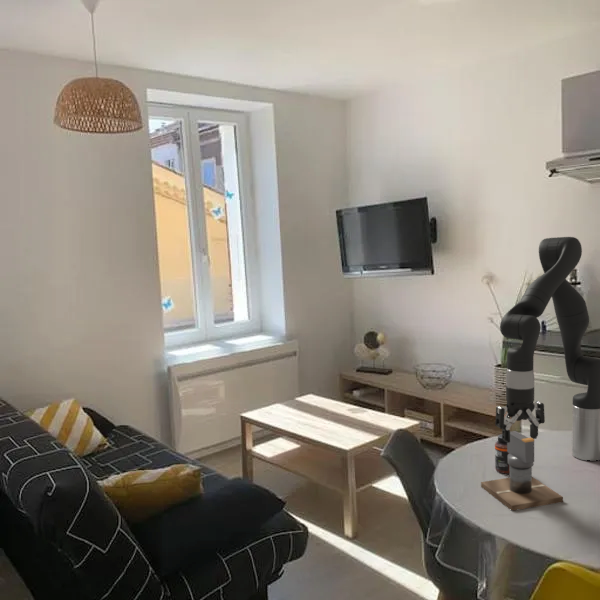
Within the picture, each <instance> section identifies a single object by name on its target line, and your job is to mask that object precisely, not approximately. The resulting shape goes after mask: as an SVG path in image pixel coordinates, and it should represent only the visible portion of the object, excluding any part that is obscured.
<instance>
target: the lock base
mask: <svg viewBox="0 0 600 600" xmlns="http://www.w3.org/2000/svg"><path fill="white" fill-rule="evenodd" d="M532 469H533V466H532V467H530V468H516V467H513V466H510V465H509V471H510V473H509V477H503V478H498V479H494V480H493V479H492V480H486V481H485V480H484V481H481V482H480V488H482V489H483V488H484V489H483V490H485V492H486V493H488V494H489V495H491V496H492V497H494V498H495V499H496V500H497V501H499V502H500V503H501V504H502V505H504V506H505V507H506V506H507V507H508V508H507V507H506V508H507V509H509V510H510V509H511V510H514V511H518V510H517V509H520V510H524V509H525V508H526V509H529V508H530V507H531V508H537V507H542V506H548V505H553V504H559V503H563V502H564V496H563V495H561V494H559V493H558V492H556V491H555V490H554V489H551V488H550V487H549V486H547V485H546V484H544V483H543V482H541V481H539V480H538V479H536V478H534V477H533V475H532V473H533V472H532V471H533V470H532ZM511 510H510V511H511Z"/></svg>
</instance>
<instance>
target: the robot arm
mask: <svg viewBox="0 0 600 600" xmlns="http://www.w3.org/2000/svg"><path fill="white" fill-rule="evenodd" d="M538 245H539V246H538V257H539V262H540V265H541V268H542V271H543V274H541V275H540V276H538V277H537V278H536V279H535V280H533V281H532V282H531V283H530V284H529V286H527V287H526V289H525V291H524V293H523V295H522V297H521V298H520V300H519V301H518V302H517V303H516V304H515V305H513V306H512V307H511V308H510V309H509V310H508V311H507V312H506V313H505V314H504V315H503V317H502V319H501V321H500V324H499V331H500V333H501V335H502V336H503V337H504V338H506V339H510V340H518V341H519V340H520V341H522V344H521V345H520V346H514V347H510V348H508V349H507V353H506V374H505V399H506V405H505V406H501V405H496V407H495V422H494V423H495V426H496V427H497V428H499V429H501V434H502V439H503V440H504V441H505V442H507V443H509V442H510V432H511V430H510V429H511V427H512V426H513V425H514V424H515V423H516V421H517V422H519V421H527V420H528V422H529V423H530V424H529V438H533V439H534V440H535V439H536V440H537V438H538V437H539V436H538V435H539V426H540V425H541V424H544V423H546V422H545V421H546V420H545V419H546V417H545V404H544V403H543V402H540V401H538V400H536V401H535V373H534V357H535V355H534V354H535V351H536V348H537V347H536V346H537V344H538V339H539V337H540V334H541V323H540V320H539V319H538V318H539V317H542V314H543V313H544V312H545V311H546V309H547V307H548V304H549V302H550V301H551V299H552V303H553V308H554V312H555V313H554V314H555V316H556V321H557V324H558V329H559V332H560V337H561V343H562V348H563V352H564V353H563V355H564V361H565V363H564V364H565V369H566V374H567V376H568V378H569V379H568V380H570V381H571V382H573V383H575V384H579V385H584V386H587V390H586V392H580V393H577V394H574V395H573V396H572V433H571V434H572V440H571V441H572V442H571V444H572V445H571V446H572V448H571V452H572V453H571V455H572V456H573V457H574V458H576V459H578V460H581V461H587V460H590V461H589V462H596V460H598V461H600V358H599V357H592V356H587V355H585V356H584V354H583V352H582V348H581V342H582V339H583V337H584V335H585V334H586V331H587V330H588V327H589V324H590V316H589V311H588V305H587V302H586V300H585V299H584V297H583V296H582V295H581V293H580V292H579V291H578V290H577V289H576V288H575V287H574V286H573V285H572V284H571V283H570V282H569V281H568V279H567V278H568V276H570V275H571V273H572V272H573V271H574V269H575V268H576V267H577V265H578V264H579V263H580V260H581V258H582V253H583V248H582V244H581V241H580V240H579V239H578V238H577V237H575V236H562V237H547V238H544V239H541V241H540V243H539V244H538ZM534 410H535V415H534V414H533V411H534Z"/></svg>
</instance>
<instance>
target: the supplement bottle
mask: <svg viewBox="0 0 600 600" xmlns="http://www.w3.org/2000/svg"><path fill="white" fill-rule="evenodd" d="M508 454H509V453H508V452H507V442H505V441H504V440H503V439H502V433H501V434H498V435H497V440H496V442H495V443H494V461H495V462H494V464H495V466H494V469H495V470H496V471H497V473H498V472H499V473H500V474H510V471H509V464H508Z"/></svg>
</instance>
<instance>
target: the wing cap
mask: <svg viewBox="0 0 600 600" xmlns="http://www.w3.org/2000/svg"><path fill="white" fill-rule="evenodd" d="M507 452H508V453H509V454H508V464H509V465H510V466H513V467H516V468H530V467H532V468H533V467H534V463H535V439H533V438H531V437H527V435H524V434H522V433H520V432H518V431H516V430H513V431H511V430H510V442H509V443H507Z"/></svg>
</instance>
